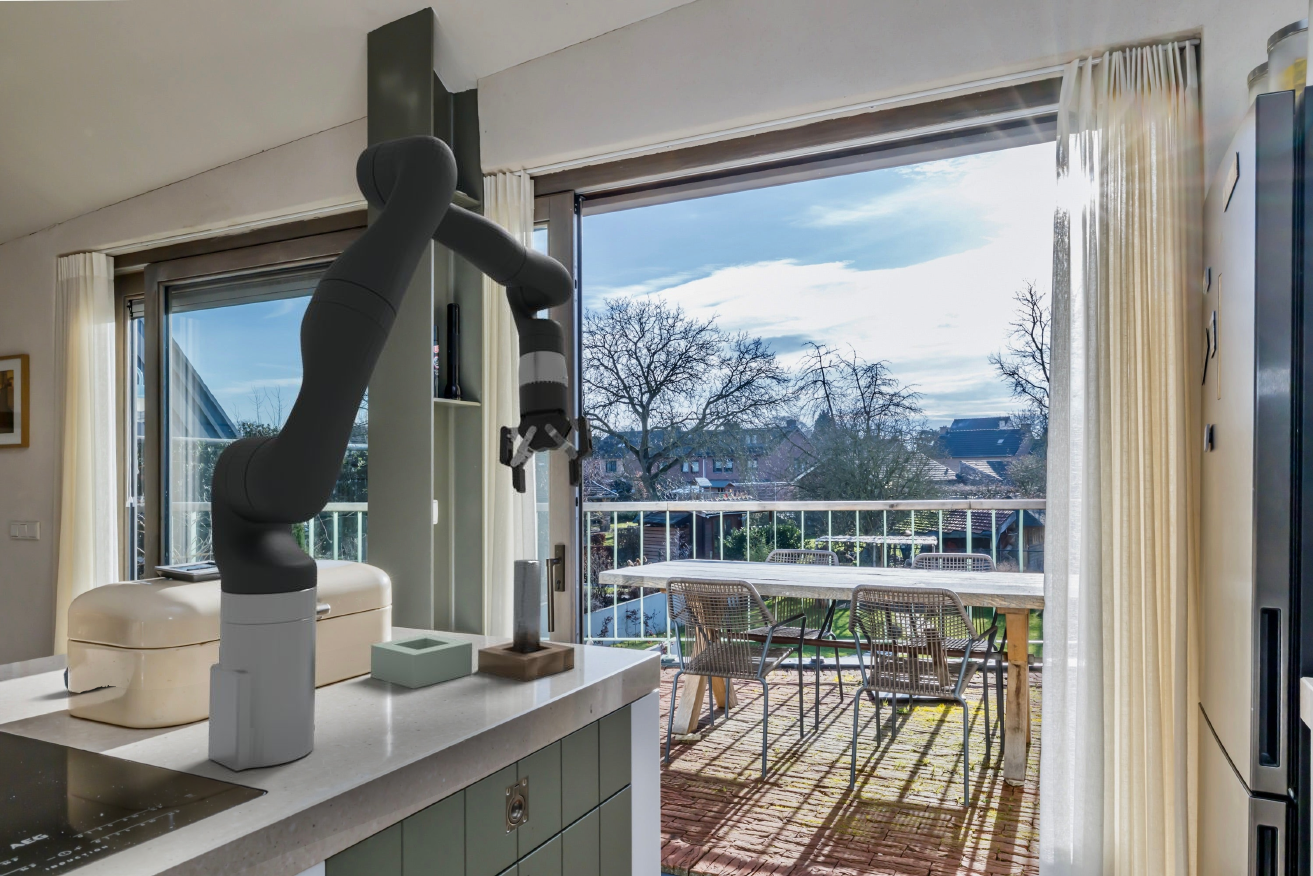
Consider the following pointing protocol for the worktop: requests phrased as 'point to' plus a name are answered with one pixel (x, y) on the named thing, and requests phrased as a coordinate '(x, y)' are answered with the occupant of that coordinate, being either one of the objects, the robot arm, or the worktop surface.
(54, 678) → the worktop surface
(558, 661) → the walnut socket
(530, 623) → the ball
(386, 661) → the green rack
